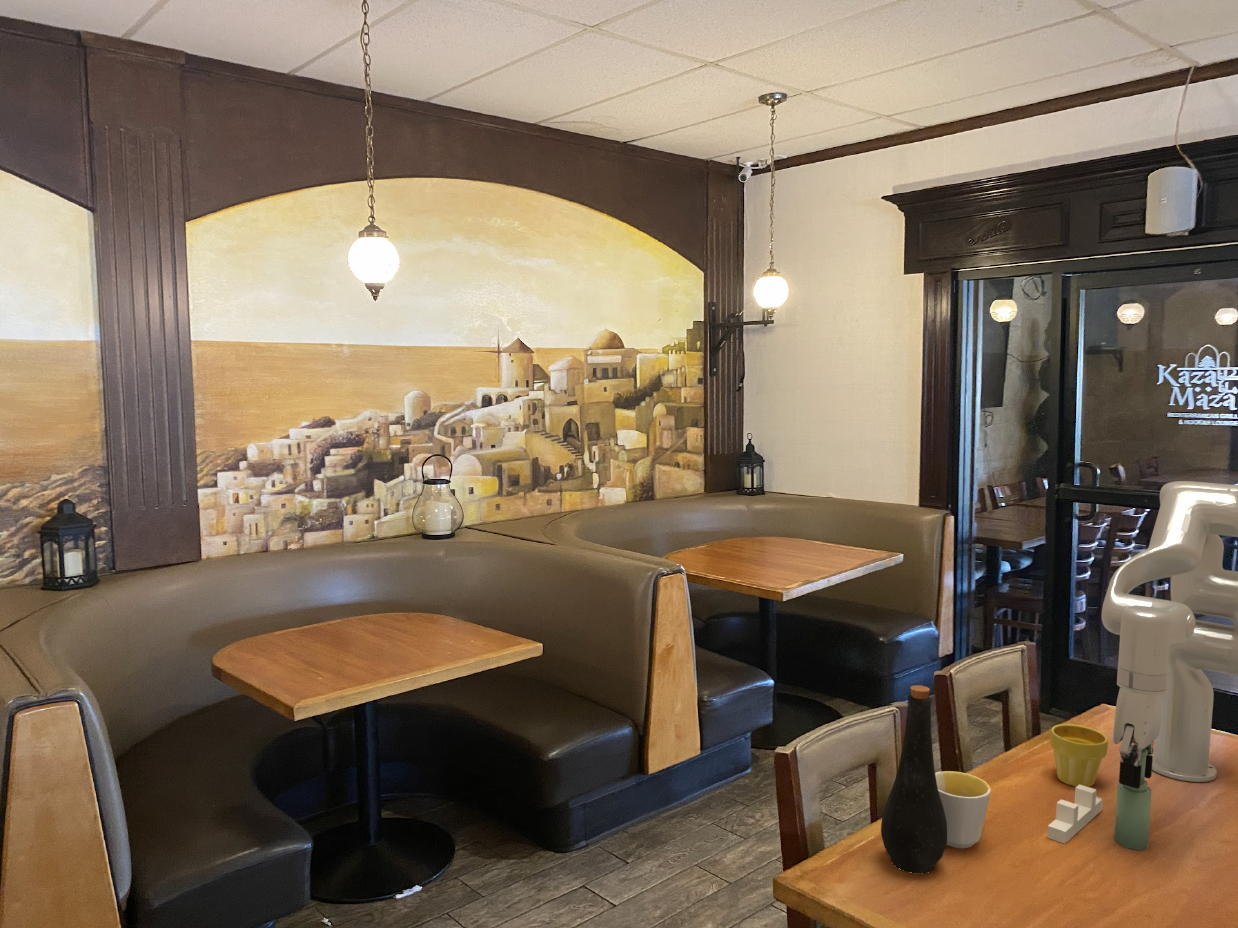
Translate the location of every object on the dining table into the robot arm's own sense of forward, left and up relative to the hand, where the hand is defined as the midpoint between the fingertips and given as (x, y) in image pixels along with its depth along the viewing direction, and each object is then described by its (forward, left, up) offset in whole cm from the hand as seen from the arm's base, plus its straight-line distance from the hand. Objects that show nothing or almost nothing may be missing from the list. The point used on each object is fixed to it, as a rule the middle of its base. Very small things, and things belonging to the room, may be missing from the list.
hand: (1135, 779), depth 162 cm
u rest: (0, -9, -11) cm, 15 cm away
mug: (+20, -21, -12) cm, 31 cm away
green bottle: (0, 0, -11) cm, 11 cm away
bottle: (+34, -23, -12) cm, 43 cm away
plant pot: (-19, -16, -12) cm, 27 cm away
